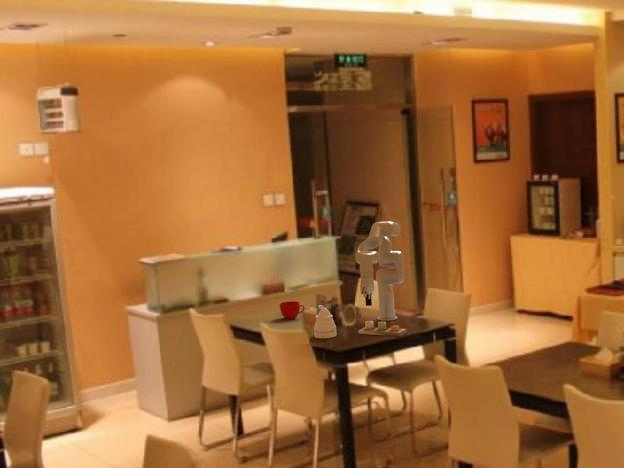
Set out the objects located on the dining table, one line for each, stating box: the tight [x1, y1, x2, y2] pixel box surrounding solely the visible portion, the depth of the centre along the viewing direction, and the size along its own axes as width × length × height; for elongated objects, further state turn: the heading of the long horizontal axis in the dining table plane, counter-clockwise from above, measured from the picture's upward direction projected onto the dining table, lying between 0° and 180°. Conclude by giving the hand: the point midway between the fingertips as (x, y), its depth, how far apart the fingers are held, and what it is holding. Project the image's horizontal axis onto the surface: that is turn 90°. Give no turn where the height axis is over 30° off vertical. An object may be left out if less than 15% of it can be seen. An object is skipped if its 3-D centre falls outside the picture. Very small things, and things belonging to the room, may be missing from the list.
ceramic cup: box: [279, 300, 305, 320], centre depth 562 cm, size 13×17×10 cm
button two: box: [377, 321, 387, 330], centre depth 502 cm, size 5×5×4 cm
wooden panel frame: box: [357, 326, 408, 337], centre depth 502 cm, size 10×26×2 cm, turn 61°
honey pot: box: [313, 304, 337, 339], centre depth 504 cm, size 13×13×18 cm
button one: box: [364, 320, 375, 329], centre depth 506 cm, size 5×5×4 cm
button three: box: [390, 325, 400, 332], centre depth 498 cm, size 5×5×4 cm
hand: (368, 305), depth 504 cm, fingers closed
